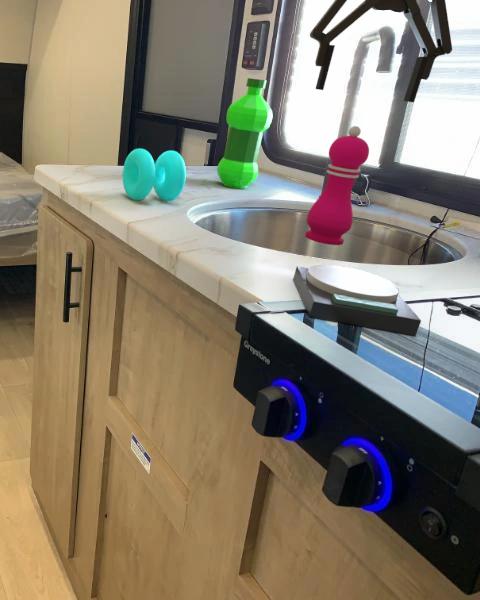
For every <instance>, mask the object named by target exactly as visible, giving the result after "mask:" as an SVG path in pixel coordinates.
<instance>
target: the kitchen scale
mask: <svg viewBox="0 0 480 600" xmlns="http://www.w3.org/2000/svg"><path fill="white" fill-rule="evenodd" d="M292 280H293V283H294V284H295V287H296V289H297V291H298V294H299V296H300V299H301V301H302V303H303V306H304V308H305V310H306V313H307V315H308V317H309V318H312V319H313V318H314V319H317V320H324V321H329V322H335V323H340V324H346V325H352V326H357V327H364V328H369V329H374V330H375V329H376V330H381V331H386V332H391V333H398V334H403V335H408V336H412V337H413V336H415V337H416V336H417V333H418V331H419V328H420V326H421V323H422V320H421V318H420V317H419V316H418V315H417V314H416V313H415V311H413V310H412V308H411V306H409V305H408V304H407V302H406V301H405V300H404V299H403V298H402V296H401V295H400V288H399V287H398V286H397V285H396V284H395V283H393V282H391V281H390V280H388V279H386V278H385V277H381V276H379V275H377V274H373V273H371V272H368V271H364V270H362V269H358V268H353V267H348V266H344V265H343V266H341V265H334V264H316V265H312V266H309V267H305V266H299V265H297V266H296V268H295V272H294V274H293V278H292Z"/></svg>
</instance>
